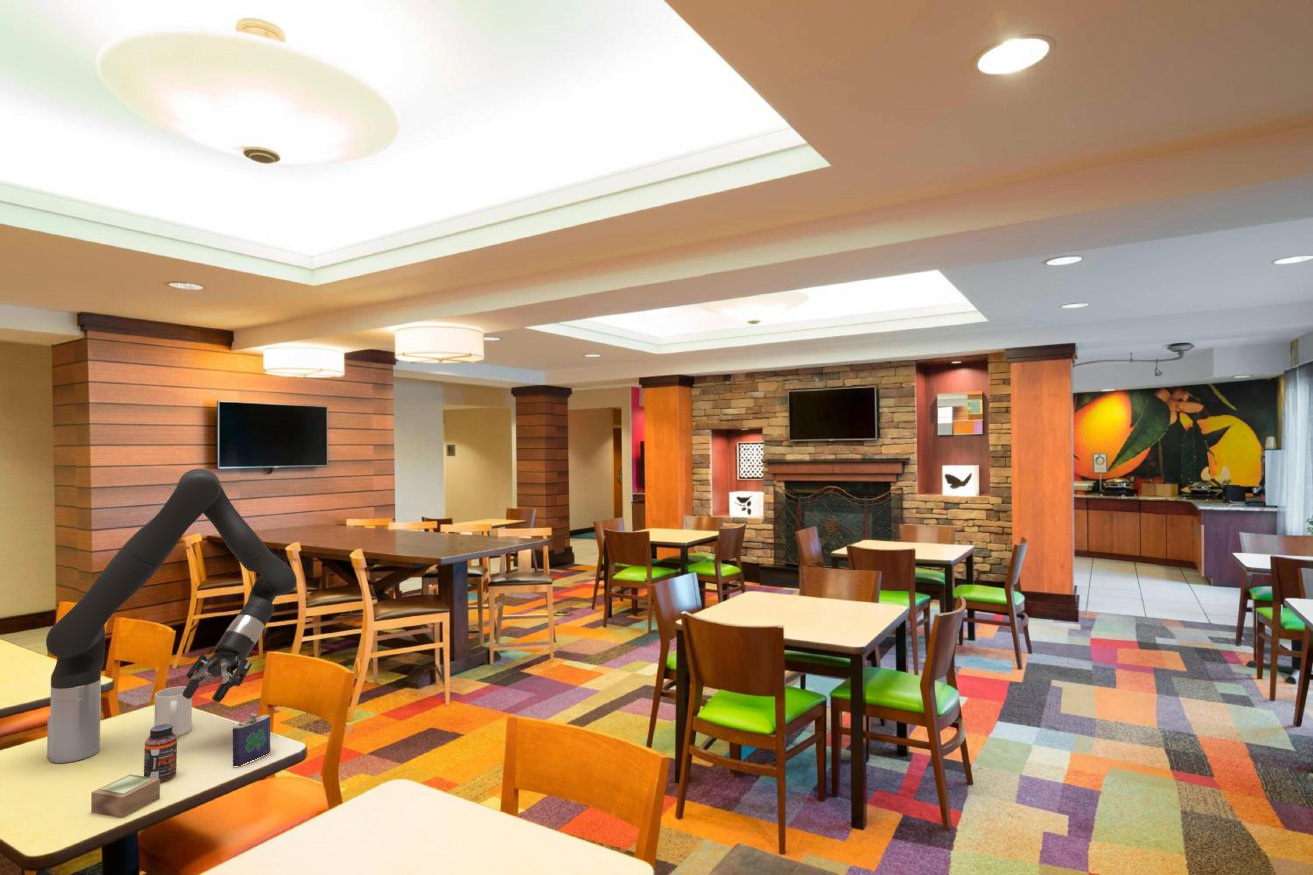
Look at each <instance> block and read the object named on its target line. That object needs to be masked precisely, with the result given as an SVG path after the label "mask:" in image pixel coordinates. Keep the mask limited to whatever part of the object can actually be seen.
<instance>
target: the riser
mask: <svg viewBox="0 0 1313 875" xmlns="http://www.w3.org/2000/svg"><path fill="white" fill-rule="evenodd" d="M90 798H91V799H90V800H91V803H90V804H91V805H90V806H91V807H90V808H91V813H93V814H99V815H100V814H101V815H104V816H111V817H116V818H117V817H118V818H122V819H123V818H125V817H127V816H128V815H130V814H132V813H134V812H136V811H138V810H141V809H142V808H144V807H146V806H148V805H149V804H151V803H153V802H155V801H157V800H159V799H160V798H161V782H160V779H157V778H151V777H144V775H137V774H132V773H131V774H128V775H125V776H123V777H121V778H119V779H117V780H115V781H113V782H111V783H109V784H106V785H104V786H102V787H100V788H98V789H96V790H93V791H91V797H90Z"/></svg>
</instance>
